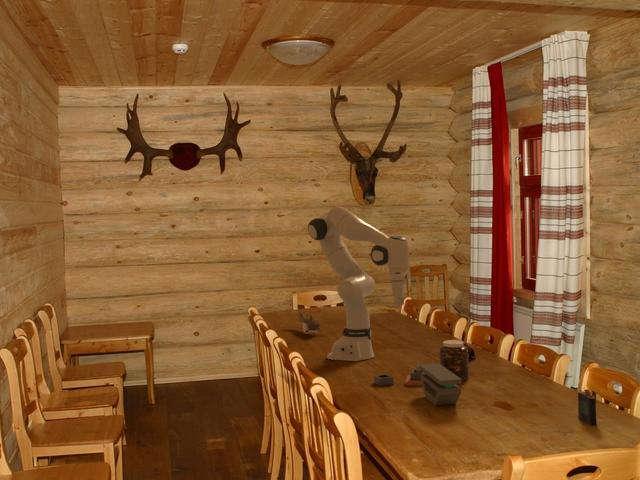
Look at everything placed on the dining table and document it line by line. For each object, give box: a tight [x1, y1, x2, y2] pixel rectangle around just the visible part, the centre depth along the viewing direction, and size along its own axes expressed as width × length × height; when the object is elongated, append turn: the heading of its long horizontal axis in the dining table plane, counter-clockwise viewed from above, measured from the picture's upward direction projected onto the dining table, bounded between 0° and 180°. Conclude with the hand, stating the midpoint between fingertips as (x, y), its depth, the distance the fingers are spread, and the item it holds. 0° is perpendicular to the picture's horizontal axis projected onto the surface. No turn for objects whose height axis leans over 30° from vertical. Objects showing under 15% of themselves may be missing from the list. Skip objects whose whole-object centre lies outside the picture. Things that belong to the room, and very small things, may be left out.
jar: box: [439, 339, 470, 382], centre depth 295 cm, size 12×12×15 cm
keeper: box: [404, 364, 423, 387], centre depth 291 cm, size 10×10×7 cm
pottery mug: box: [463, 342, 477, 360], centre depth 329 cm, size 12×10×8 cm
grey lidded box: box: [418, 362, 463, 407], centre depth 264 cm, size 25×8×11 cm, turn 9°
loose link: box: [373, 373, 394, 387], centre depth 291 cm, size 6×6×3 cm
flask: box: [577, 388, 598, 427], centre depth 234 cm, size 9×3×11 cm, turn 8°
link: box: [409, 368, 425, 381], centre depth 291 cm, size 6×6×3 cm
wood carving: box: [297, 309, 322, 333], centre depth 406 cm, size 9×35×11 cm, turn 18°
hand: (400, 306), depth 304 cm, fingers open, 8 cm apart
